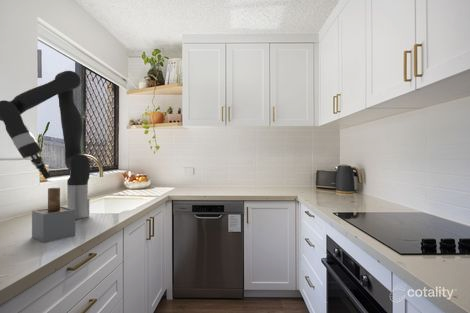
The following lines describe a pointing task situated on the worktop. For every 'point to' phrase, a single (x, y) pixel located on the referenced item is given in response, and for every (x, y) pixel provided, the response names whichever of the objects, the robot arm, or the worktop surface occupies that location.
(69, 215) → the tub
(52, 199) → the wooden peg on base
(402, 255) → the worktop surface
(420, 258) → the worktop surface
